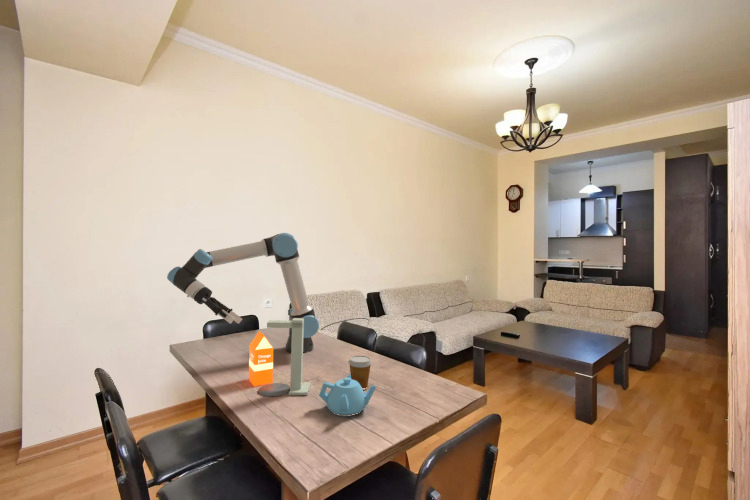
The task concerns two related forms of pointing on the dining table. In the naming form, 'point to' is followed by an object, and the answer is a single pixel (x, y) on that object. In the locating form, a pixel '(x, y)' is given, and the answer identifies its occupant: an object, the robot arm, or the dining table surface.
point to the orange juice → (260, 361)
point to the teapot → (346, 396)
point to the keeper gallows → (294, 354)
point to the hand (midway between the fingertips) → (236, 321)
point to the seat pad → (273, 389)
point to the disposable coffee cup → (360, 369)
